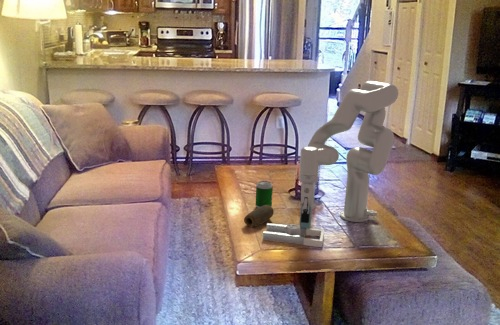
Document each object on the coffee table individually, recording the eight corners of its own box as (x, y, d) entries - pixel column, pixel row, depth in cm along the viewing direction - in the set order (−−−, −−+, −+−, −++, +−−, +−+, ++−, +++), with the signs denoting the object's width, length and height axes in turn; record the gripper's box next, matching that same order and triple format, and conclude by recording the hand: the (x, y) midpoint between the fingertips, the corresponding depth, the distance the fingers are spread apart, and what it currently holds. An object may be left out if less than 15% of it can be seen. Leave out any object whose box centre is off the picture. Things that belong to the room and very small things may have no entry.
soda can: (270, 211, 228) (271, 186, 225) (253, 209, 229) (254, 184, 226) (272, 205, 235) (274, 181, 232) (257, 204, 236) (258, 179, 233)
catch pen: (323, 235, 203) (324, 230, 203) (321, 247, 193) (322, 241, 192) (306, 233, 205) (306, 228, 204) (303, 245, 194) (303, 239, 194)
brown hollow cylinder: (260, 215, 222) (261, 201, 221) (274, 219, 219) (275, 205, 217) (242, 226, 210) (242, 211, 208) (256, 230, 207) (257, 215, 205)
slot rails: (306, 234, 204) (306, 227, 203) (303, 244, 195) (304, 237, 194) (267, 229, 207) (267, 223, 206) (262, 239, 198) (263, 232, 197)
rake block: (310, 227, 212) (312, 200, 208) (309, 232, 206) (311, 205, 203) (300, 226, 212) (302, 199, 209) (299, 231, 207) (301, 204, 204)
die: (300, 240, 199) (301, 228, 197) (288, 241, 198) (288, 229, 196) (296, 235, 203) (297, 223, 202) (284, 235, 202) (285, 224, 201)
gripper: (316, 184, 194) (312, 228, 199) (319, 172, 211) (316, 213, 215) (296, 183, 196) (294, 226, 201) (301, 170, 212) (298, 211, 217)
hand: (305, 219), depth 208 cm, fingers closed on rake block, 6 cm apart
